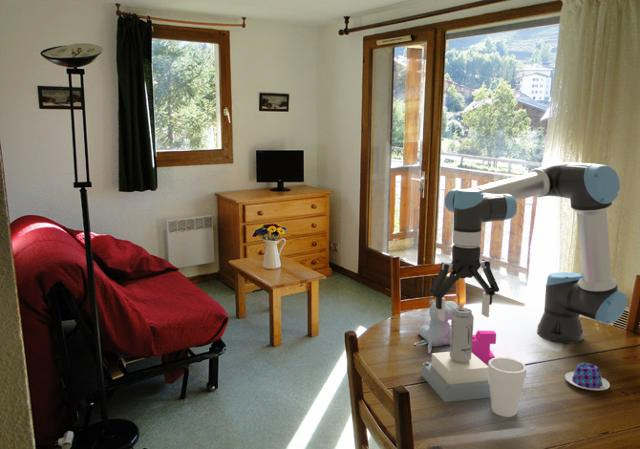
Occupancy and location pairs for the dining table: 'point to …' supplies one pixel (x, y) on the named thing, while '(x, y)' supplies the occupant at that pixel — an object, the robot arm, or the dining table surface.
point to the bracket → (483, 345)
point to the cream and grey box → (457, 377)
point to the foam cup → (505, 385)
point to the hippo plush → (437, 326)
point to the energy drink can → (461, 335)
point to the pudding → (587, 377)
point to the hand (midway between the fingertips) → (463, 317)
